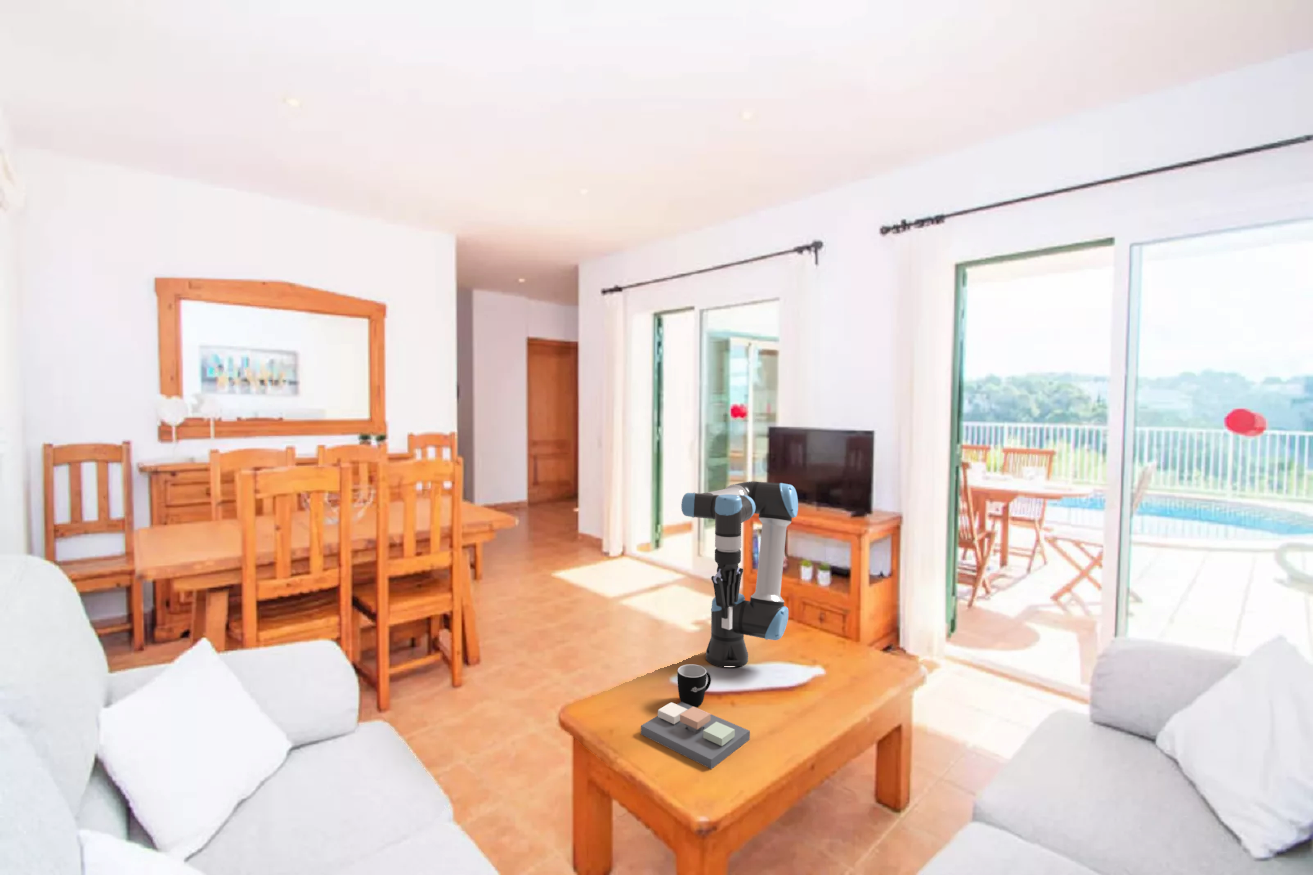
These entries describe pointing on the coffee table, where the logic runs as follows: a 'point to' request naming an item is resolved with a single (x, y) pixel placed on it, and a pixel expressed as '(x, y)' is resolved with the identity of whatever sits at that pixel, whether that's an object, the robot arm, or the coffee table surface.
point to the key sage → (719, 733)
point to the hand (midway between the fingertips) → (726, 627)
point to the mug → (692, 684)
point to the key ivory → (671, 712)
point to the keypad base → (694, 739)
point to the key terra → (695, 719)
